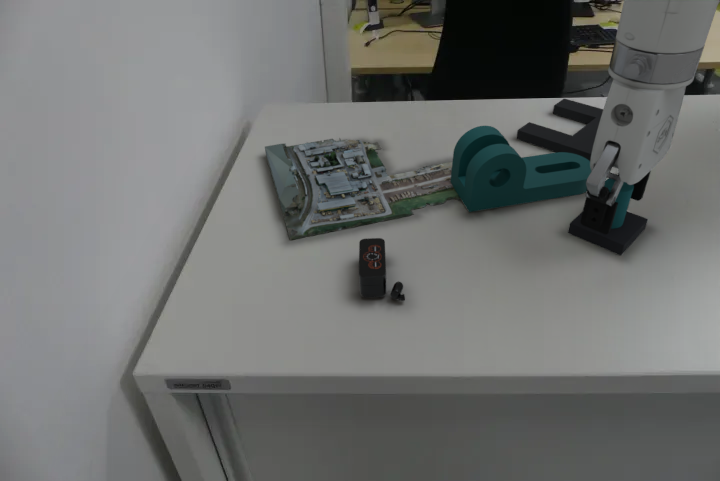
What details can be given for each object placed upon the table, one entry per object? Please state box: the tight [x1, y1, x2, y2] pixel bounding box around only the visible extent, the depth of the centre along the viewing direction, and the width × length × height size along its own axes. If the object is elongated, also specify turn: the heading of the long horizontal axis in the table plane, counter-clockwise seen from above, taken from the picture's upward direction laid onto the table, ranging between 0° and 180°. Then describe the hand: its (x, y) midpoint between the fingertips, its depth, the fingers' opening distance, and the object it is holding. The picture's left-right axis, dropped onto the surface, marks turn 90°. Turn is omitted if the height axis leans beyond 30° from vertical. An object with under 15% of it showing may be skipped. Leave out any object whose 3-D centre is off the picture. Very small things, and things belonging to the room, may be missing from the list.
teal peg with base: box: [567, 178, 649, 256], centre depth 64 cm, size 6×6×6 cm
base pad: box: [516, 98, 604, 161], centre depth 84 cm, size 14×12×2 cm
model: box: [264, 137, 461, 241], centre depth 78 cm, size 21×30×2 cm
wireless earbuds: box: [358, 237, 406, 302], centre depth 60 cm, size 5×7×3 cm, turn 179°
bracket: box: [450, 125, 592, 213], centre depth 71 cm, size 18×7×8 cm, turn 103°
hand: (611, 210), depth 64 cm, fingers open, 7 cm apart
